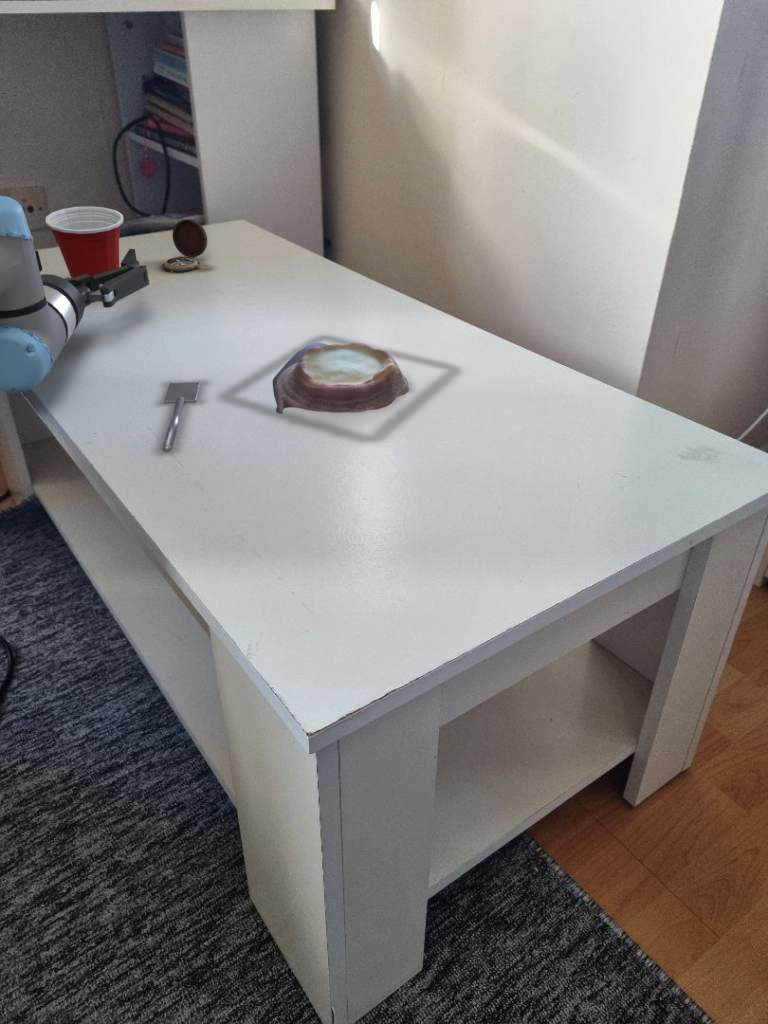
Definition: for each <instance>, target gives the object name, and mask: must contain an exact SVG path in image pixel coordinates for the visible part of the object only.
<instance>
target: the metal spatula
mask: <svg viewBox="0 0 768 1024" xmlns="http://www.w3.org/2000/svg"><path fill="white" fill-rule="evenodd" d="M200 388H201V381H197V382H196V381H193V382H192V381H191V382H170V383H169V386H168V389H167V392H166V395H165V398H164V401H163V402H164V404H174V407H173V410H172V414H171V416H170V417H171V418H170V421H169V425H168V428H167V430H166V431H167V432H166V435H165V438H164V442H163V445H162V449H161V450H162V452H165V453H168V452H169V453H170V452H171V451H173V448H174V444H175V440H176V437H177V434H178V433H177V432H178V429H179V425H180V421H181V417H182V414H183V410H184V407H185V404H192V403H193V404H195V403H197V400H198V397H199V394H200V393H199V392H200Z"/></svg>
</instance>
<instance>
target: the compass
mask: <svg viewBox="0 0 768 1024" xmlns="http://www.w3.org/2000/svg"><path fill="white" fill-rule="evenodd" d="M171 237H172V242H173V244H174V246H175V248H176V250H177V251H178V252H179V253H180V254H181V255H183V256H175V257H170V258H167V259H166V260H165V262H164V263H162V264H161V265H162V270H163V271H165V272H168V273H171V274H183V273H190V272H193V271H197V270H198V269H199V270H206V269H209V268H210V266H209V264H201V263H200V261H199V260H197V259H196V257H199V256H201V255H203V254H204V252H205V251H206V249H207V246H208V235H207V232H206V230H205V228H204V227H203V225H202V224H201V223H200V222H199V221H197V220H196V219H193V218H190V217H187V218H183V219H181V220H179V221H177V223H176V224H174V227H173V229H172V236H171ZM204 266H205V267H204Z"/></svg>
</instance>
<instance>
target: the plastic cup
mask: <svg viewBox="0 0 768 1024" xmlns="http://www.w3.org/2000/svg"><path fill="white" fill-rule="evenodd" d="M123 223H124V215H123V214H122V213H121V212H119V211H118V210H116V209H111V208H108V207H100V206H93V205H92V206H90V205H89V206H72V207H67V208H61V209H59V210H54V211H53V212H50V213H49V214H47V215H46V216H45V224H46V225H47V226H48V227H49V229H50V231H51V233H52V234H53V236H54V239H55V242H56V243H57V245H58V247H59V250H60V253H61V255H62V258H63V260H64V263H65V266H66V268H67V270H68V273H69V275H70V276H69V277H70V278H75V277H78V276H81V275H84V274H87V275H90V276H94V275H97V274H100V273H103V272H106V271H109V270H113V269H116V268H119V267H120V239H121V238H120V237H121V236H120V235H121V234H120V233H121V227H122V224H123ZM81 284H83V285H85V282H83V283H81Z"/></svg>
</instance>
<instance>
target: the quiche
mask: <svg viewBox="0 0 768 1024" xmlns="http://www.w3.org/2000/svg"><path fill="white" fill-rule="evenodd" d="M409 391H410V387H409V381H408V378H407V377H406V376H405V375H404V374H403V372H402V371H401V369H400V367H399V365H398V363H397V361H396V360H395V358H394V357H393V356H392V355H391V354H390V353H389V352H388V351H387V350H385V349H381V348H378V347H374V346H371V345H369V344H367V343H365V342H351V343H347V344H346V343H345V344H343V343H342V344H339V343H336V344H335V343H333V344H332V343H331V344H327V343H323V342H314V343H310V344H308V345H306V346H305V347H303V348H301V349H300V350H298V351H297V352H296V353H295V354H294V355H293V356H292V357H291V358H289V360H288V361H287V362H286V363H285V364H284V365H283V366H282V368H281V369H280V370H279V371H278V372H277V373H276V374H275V375H274V377H273V379H272V392H273V398H274V400H275V404H276V408H275V412H276V413H277V414H279V415H282V414H283V413H284V410H285V409H288V408H293V409H301V410H304V411H305V410H306V411H310V412H321V413H333V414H334V413H335V414H344V413H345V414H347V413H350V414H351V413H352V414H353V413H355V414H357V413H362V412H367V411H376V410H380V409H384V408H387V407H388V406H390V405H391V404H393V403H394V401H395V400H396V399H397V398H399V397H402V396H404V395H406V394H408V393H409Z"/></svg>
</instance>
